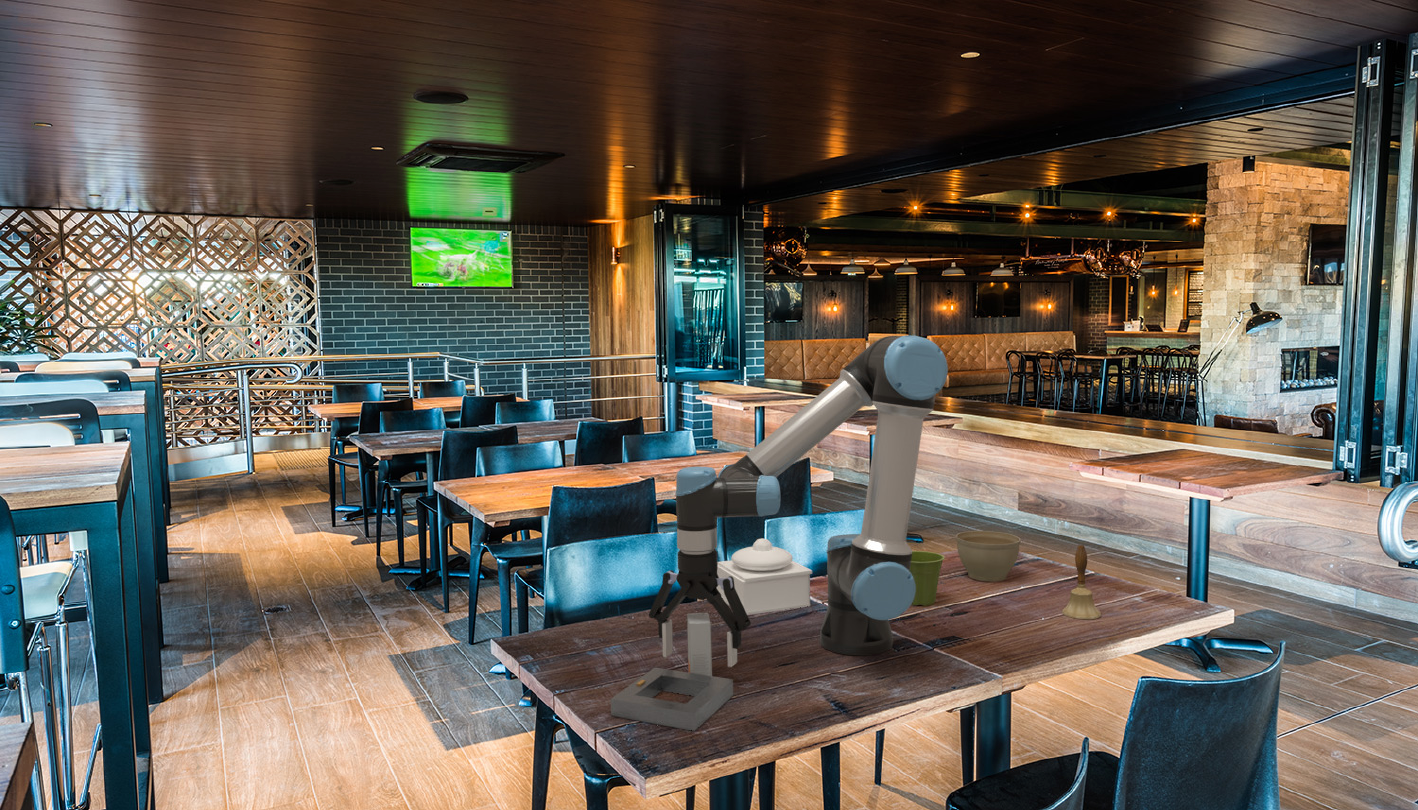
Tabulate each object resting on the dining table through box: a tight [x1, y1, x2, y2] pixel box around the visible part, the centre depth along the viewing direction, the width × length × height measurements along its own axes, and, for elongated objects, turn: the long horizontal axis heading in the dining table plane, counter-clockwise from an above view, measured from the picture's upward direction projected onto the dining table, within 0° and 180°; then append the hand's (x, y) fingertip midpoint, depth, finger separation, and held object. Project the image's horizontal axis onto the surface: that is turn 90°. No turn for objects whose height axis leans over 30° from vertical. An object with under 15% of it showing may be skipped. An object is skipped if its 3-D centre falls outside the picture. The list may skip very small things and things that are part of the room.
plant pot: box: [910, 550, 946, 607], centre depth 219 cm, size 12×12×11 cm
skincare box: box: [686, 612, 713, 676], centre depth 173 cm, size 6×4×12 cm
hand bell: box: [1061, 544, 1102, 621], centre depth 207 cm, size 8×8×16 cm
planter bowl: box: [955, 530, 1021, 583], centre depth 239 cm, size 16×16×11 cm
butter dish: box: [717, 538, 813, 616], centre depth 223 cm, size 18×18×16 cm
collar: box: [610, 667, 734, 732], centre depth 161 cm, size 16×16×3 cm
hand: (699, 659), depth 173 cm, fingers open, 13 cm apart
